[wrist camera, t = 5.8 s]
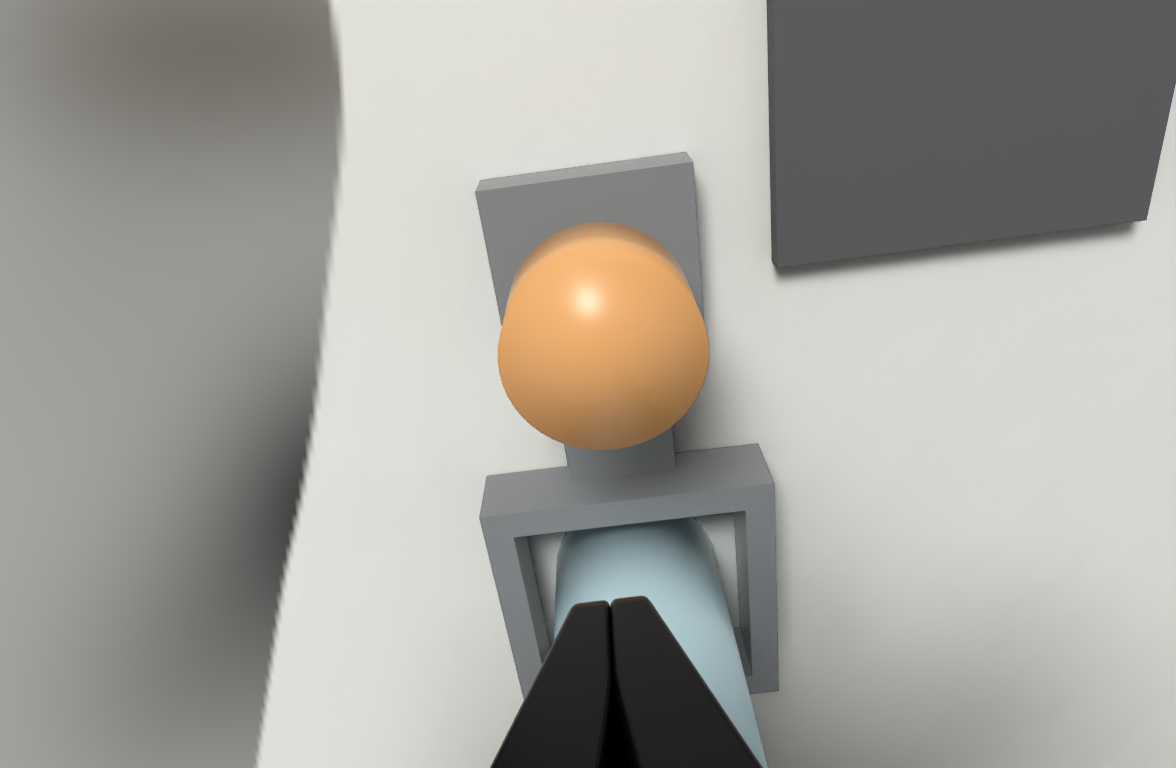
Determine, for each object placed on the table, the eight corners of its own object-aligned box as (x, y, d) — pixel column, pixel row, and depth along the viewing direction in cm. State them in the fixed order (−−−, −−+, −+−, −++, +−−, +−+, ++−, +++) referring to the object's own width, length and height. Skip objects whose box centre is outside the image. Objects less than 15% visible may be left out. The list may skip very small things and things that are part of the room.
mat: (1130, 213, 19) (1146, 220, 18) (772, 260, 19) (777, 267, 19) (1221, -236, 15) (1245, -244, 14) (763, -165, 15) (770, -171, 15)
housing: (769, 799, 29) (781, 851, 28) (566, 819, 30) (566, 872, 28) (748, 143, 18) (767, 159, 16) (420, 188, 18) (404, 209, 17)
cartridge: (717, 614, 25) (781, 887, 17) (568, 630, 25) (566, 907, 18) (709, 491, 23) (778, 743, 15) (544, 510, 23) (530, 768, 15)
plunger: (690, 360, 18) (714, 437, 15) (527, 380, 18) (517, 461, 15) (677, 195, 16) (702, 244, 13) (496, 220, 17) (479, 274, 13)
